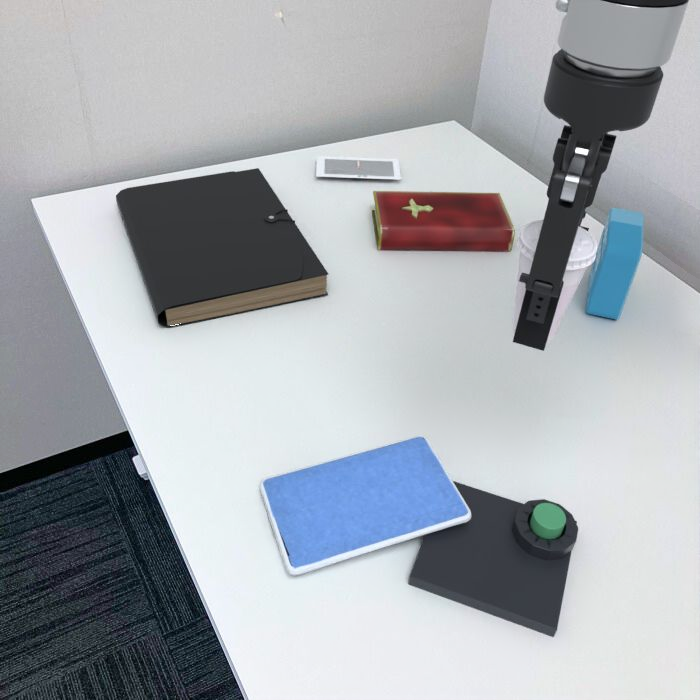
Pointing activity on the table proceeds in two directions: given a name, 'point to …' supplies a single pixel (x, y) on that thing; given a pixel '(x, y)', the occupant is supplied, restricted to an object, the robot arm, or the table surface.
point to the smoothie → (575, 269)
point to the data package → (615, 263)
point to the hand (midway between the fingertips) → (537, 320)
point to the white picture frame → (357, 167)
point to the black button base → (498, 562)
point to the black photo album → (217, 247)
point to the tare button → (547, 521)
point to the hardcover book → (441, 221)
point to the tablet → (360, 504)
